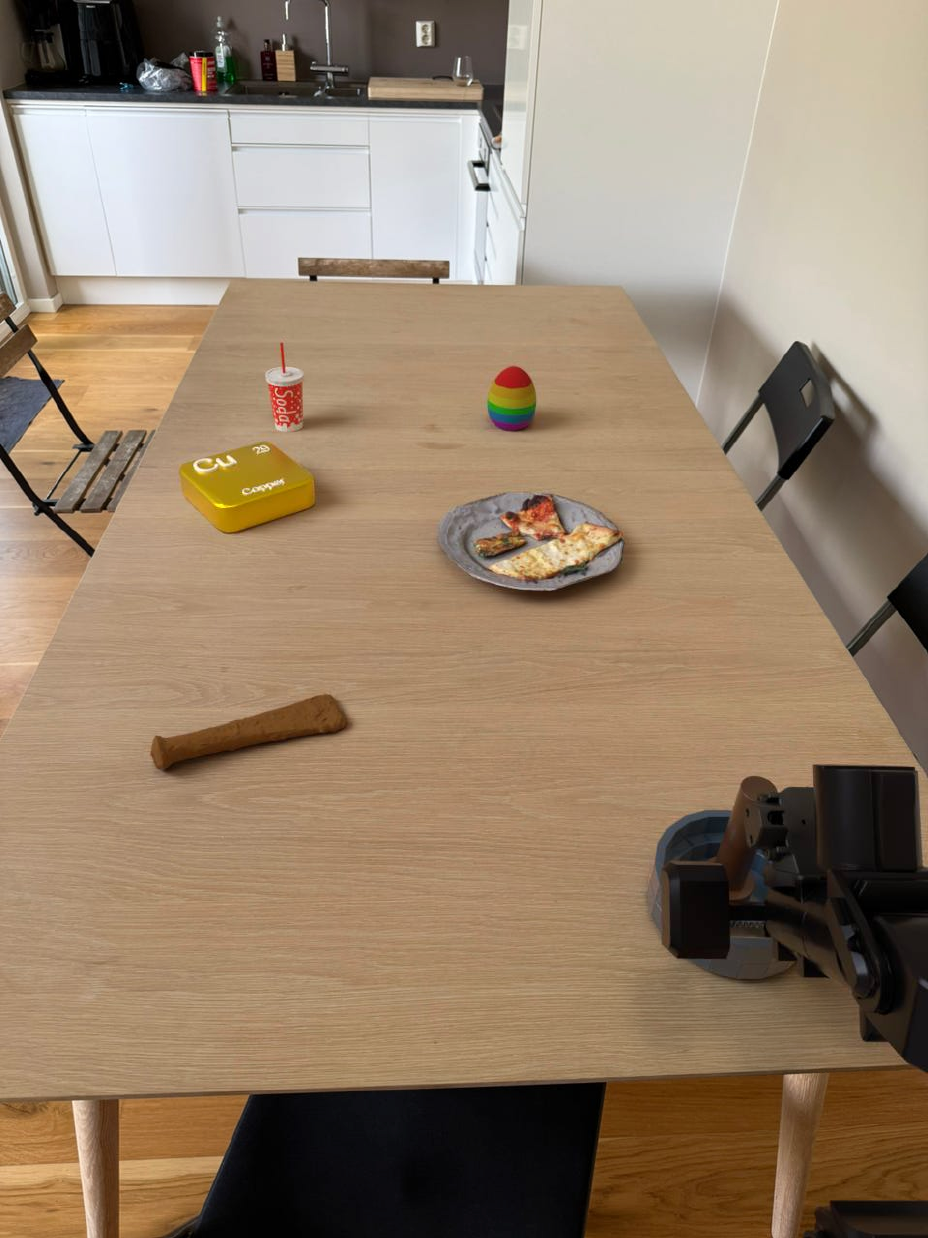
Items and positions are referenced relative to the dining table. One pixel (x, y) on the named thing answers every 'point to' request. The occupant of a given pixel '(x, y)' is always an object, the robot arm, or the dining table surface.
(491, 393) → the decorative egg
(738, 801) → the pestle
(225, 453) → the element tile
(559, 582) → the food plate
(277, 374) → the beverage cup
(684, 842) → the bowl
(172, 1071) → the dining table surface
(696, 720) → the dining table surface
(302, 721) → the primitive tool
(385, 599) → the dining table surface
